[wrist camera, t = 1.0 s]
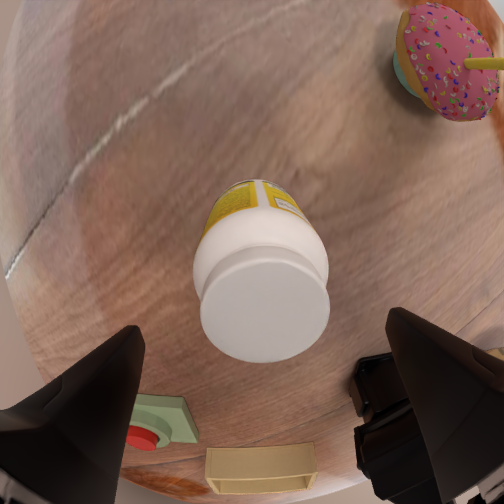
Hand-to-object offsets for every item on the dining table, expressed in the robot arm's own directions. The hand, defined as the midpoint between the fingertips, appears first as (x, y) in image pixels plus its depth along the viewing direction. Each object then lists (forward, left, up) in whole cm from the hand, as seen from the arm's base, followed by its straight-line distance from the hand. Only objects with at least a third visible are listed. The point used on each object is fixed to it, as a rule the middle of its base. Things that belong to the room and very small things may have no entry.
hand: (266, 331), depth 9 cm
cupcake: (-13, -12, -12) cm, 21 cm away
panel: (+15, +24, -12) cm, 30 cm away
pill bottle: (0, 0, -12) cm, 12 cm away
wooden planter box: (+1, +38, -12) cm, 40 cm away
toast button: (+15, +24, -8) cm, 29 cm away
